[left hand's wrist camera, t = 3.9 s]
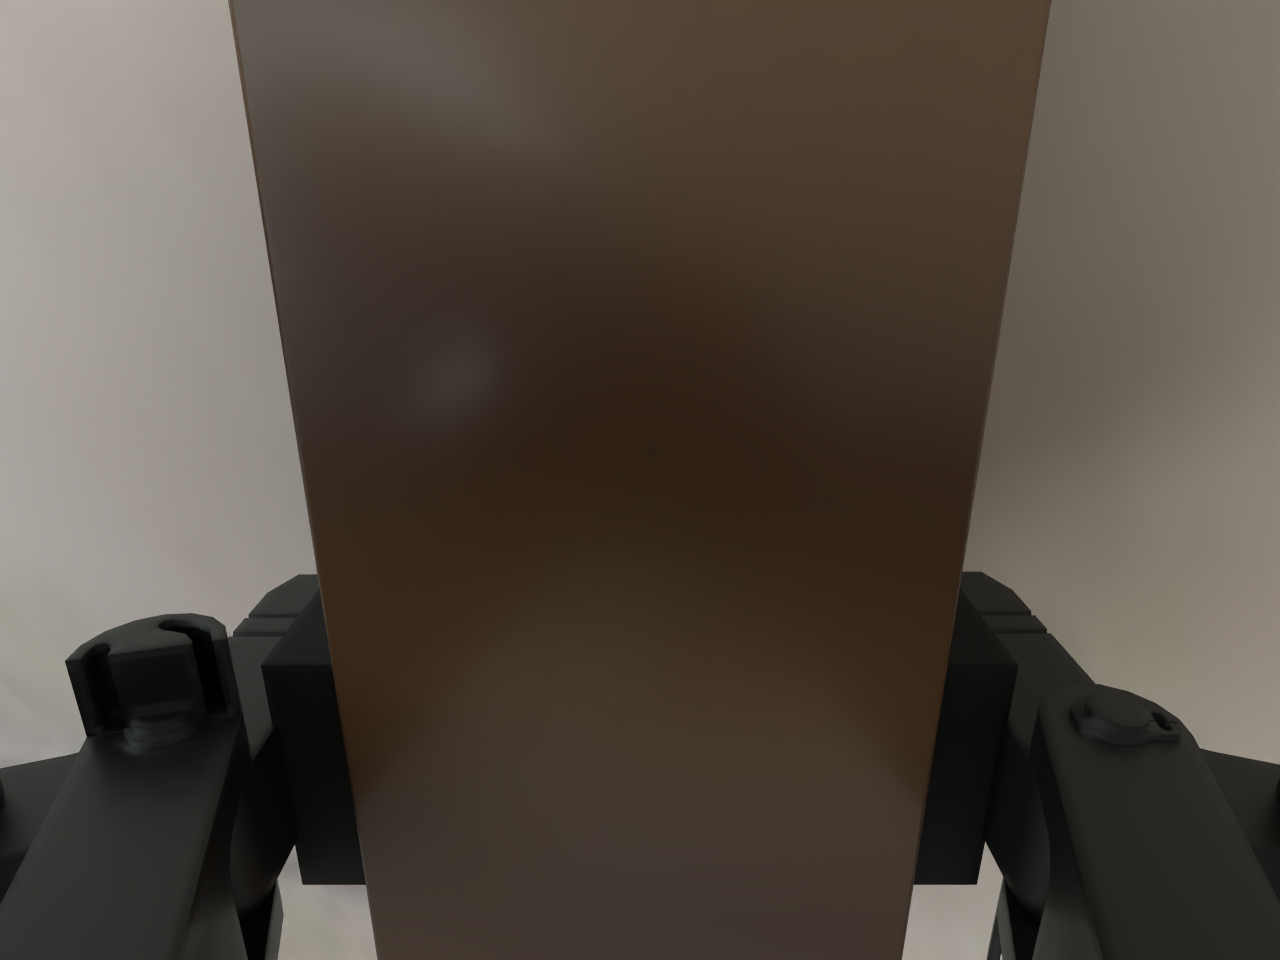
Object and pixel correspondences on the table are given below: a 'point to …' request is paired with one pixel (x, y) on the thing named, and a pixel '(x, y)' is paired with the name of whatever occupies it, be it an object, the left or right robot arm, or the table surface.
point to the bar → (639, 444)
